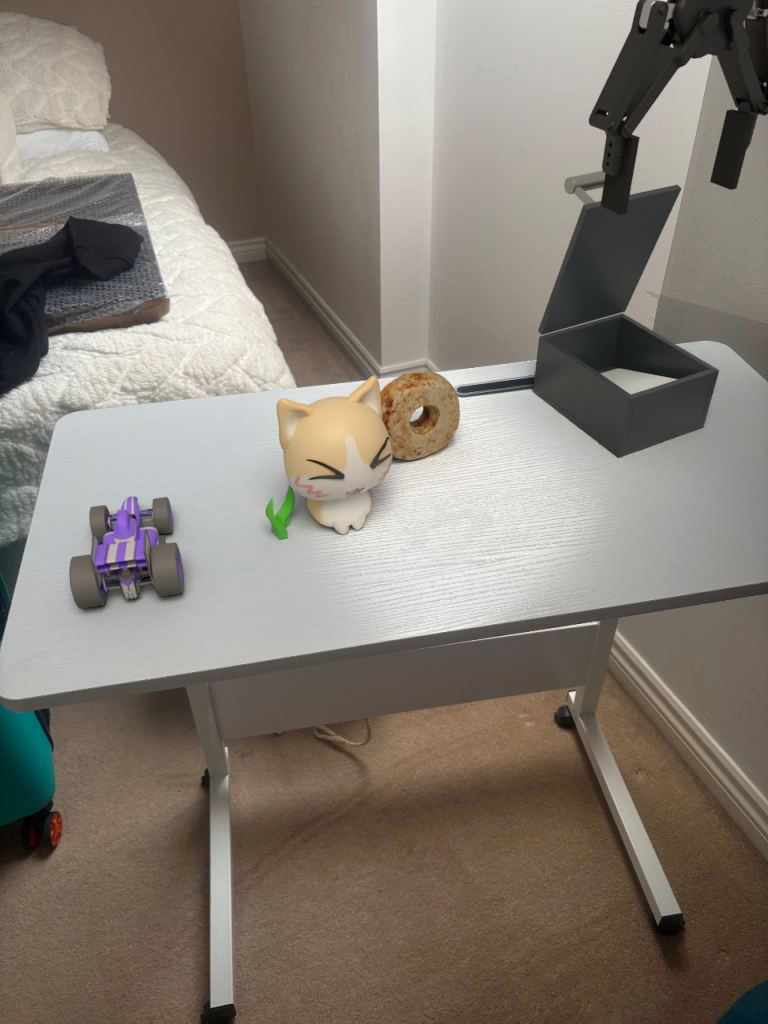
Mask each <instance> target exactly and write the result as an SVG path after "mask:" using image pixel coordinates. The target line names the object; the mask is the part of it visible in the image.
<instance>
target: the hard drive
mask: <svg viewBox="0 0 768 1024" xmlns="http://www.w3.org/2000/svg"><path fill="white" fill-rule="evenodd" d="M600 374H602V375H603V376H605V377H606V378H608V379H609V380H610V381H612V382H613V383H615V384H616V385H618V386H619V387H621V388H622V389H624V390H625V391H627V392H628V393H630V394H631V395H632V394H635V393H638V392H641V391H644V390H647V389H650V388H653V387H656V386H659V385H662V384H665V383H668V382H671V381H674V380H677V379H673V378H668V377H662V376H657V375H652V374H646V373H641V372H636V371H630V370H625V369H620V368H618V369H614V370H610V371H607V372H603V373H600Z"/></svg>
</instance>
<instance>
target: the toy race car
mask: <svg viewBox="0 0 768 1024" xmlns="http://www.w3.org/2000/svg"><path fill="white" fill-rule="evenodd" d="M88 515H89V516H88V517H89V526H90V527H89V528H90V532H91V536H92V537H91V547H90V554H82V555H75V556H72V557H71V558H70V562H69V570H68V571H69V572H68V575H69V576H68V577H69V585H70V591H71V596H72V598H73V601H74V603H75V605H76V607H77V608H78V609H85V608H86V609H87V608H92V607H101V606H104V605H106V602H107V599H108V598H107V597H108V591H109V590H120V591H122V592H121V593H122V596H123V598H124V600H130V599H137V598H139V597H140V590H141V586H145V585H149V584H152V585H153V587H154V590H155V593H156V595H157V596H158V597H167V596H173V595H179V594H183V593H184V590H185V578H184V569H183V568H184V567H183V563H182V562H183V561H182V556H181V552H180V548H179V545H178V544H177V542H176V541H175V542H168V543H167V542H166V540H165V539H166V537H165V536H166V535H165V534H172V533H173V531H174V517H173V511H172V506H171V501H170V499H169V498H168V496H163V497H155V498H153V499H152V503H151V504H148V505H140V504H139V499H138V496H136V495H133V496H127V497H126V498H125V499H124V501H123V502H122V504H121V507H120V508H117V509H109V508H108V506H107V505H106V504H103V505H95V506H90V508H89V513H88ZM142 516H143V517H142ZM142 520H145V521H142ZM151 522H153V524H154V527H153V526H144V525H143V524H145V523H151ZM143 526H144V527H143ZM99 543H102V544H99ZM107 573H108V575H107ZM144 577H145V578H146V577H149V578H150V581H145V582H142V579H143V578H144ZM109 582H119V586H109Z"/></svg>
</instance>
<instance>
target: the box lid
mask: <svg viewBox="0 0 768 1024" xmlns="http://www.w3.org/2000/svg"><path fill="white" fill-rule="evenodd" d="M604 180H605V172H603V170H599V171H594V172H588V173H583V174H578V175H574V176H569V177H567V178H565V180H564V184H563V186H564V191H565V193H566V194H567V195H573V194H574V195H575V196H576V197H577V198H578V199H579V200H580V201H581V202H582V203H583V205H582V207H581V210H580V212H579V215H578V217H577V221H576V225H575V227H574V228H573V229H574V230H573V232H572V235H571V238H570V241H569V243H568V246H567V248H566V251H565V254H564V257H563V260H562V263H561V265H560V268H559V271H558V274H557V277H556V280H555V282H554V285H553V288H552V290H551V293H550V296H549V298H548V302H547V304H546V307H545V310H544V312H543V316H542V319H541V320H540V323H539V326H538V328H537V329H538V330H537V332H538V333H539V334H540V336H544V335H547V334H550V333H554V332H557V331H561V330H564V329H568V328H572V327H575V326H579V325H582V324H586V323H589V322H593V321H596V320H600V319H604V318H607V317H611V316H614V315H618V314H622V313H625V312H627V311H626V310H627V308H628V307H629V303H630V302H631V299H632V298H633V296H634V293H635V291H636V289H637V286H638V285H639V283H640V280H641V278H642V275H643V273H644V271H645V269H646V267H647V265H648V263H649V260H650V258H651V256H652V254H653V252H654V250H655V247H656V245H657V243H658V241H659V239H660V236H661V235H662V232H663V230H664V228H665V226H666V223H667V221H668V220H669V217H670V215H671V212H672V211H673V208H674V206H675V204H676V201H677V200H678V198H679V195H680V193H681V191H682V187H681V186H680V185H679V184H674V185H668V186H663V187H659V188H655V189H650V190H645V191H641V192H635V193H632V194H631V193H630V196H629V201H628V207H627V213H626V214H622V215H619V214H617V213H615V212H612V211H610V210H608V209H606V208H604V207H602V206H600V205H601V200H599V201H596V200H594V198H592V196H590V194H588V193H587V192H588V191H593V190H597V189H603V186H604Z"/></svg>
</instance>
